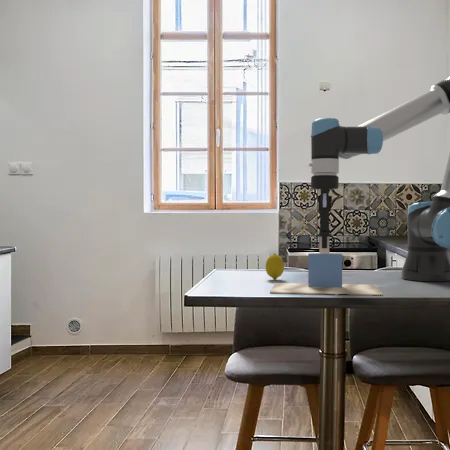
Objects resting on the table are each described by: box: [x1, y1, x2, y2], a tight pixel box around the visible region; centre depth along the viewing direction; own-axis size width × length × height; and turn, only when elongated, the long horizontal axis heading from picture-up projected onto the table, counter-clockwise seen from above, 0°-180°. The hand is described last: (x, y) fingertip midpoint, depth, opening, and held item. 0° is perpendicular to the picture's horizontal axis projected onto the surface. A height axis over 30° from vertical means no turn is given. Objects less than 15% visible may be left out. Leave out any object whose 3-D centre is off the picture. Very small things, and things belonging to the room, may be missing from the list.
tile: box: [307, 252, 343, 287], centre depth 159 cm, size 9×2×9 cm, turn 81°
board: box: [269, 282, 384, 297], centre depth 157 cm, size 28×18×1 cm, turn 81°
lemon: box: [265, 253, 285, 280], centre depth 179 cm, size 6×6×8 cm
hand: (324, 259), depth 163 cm, fingers closed
